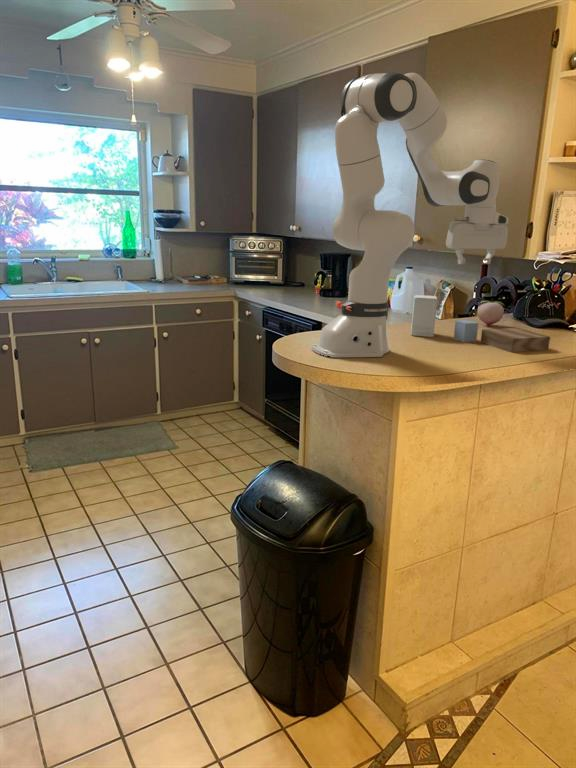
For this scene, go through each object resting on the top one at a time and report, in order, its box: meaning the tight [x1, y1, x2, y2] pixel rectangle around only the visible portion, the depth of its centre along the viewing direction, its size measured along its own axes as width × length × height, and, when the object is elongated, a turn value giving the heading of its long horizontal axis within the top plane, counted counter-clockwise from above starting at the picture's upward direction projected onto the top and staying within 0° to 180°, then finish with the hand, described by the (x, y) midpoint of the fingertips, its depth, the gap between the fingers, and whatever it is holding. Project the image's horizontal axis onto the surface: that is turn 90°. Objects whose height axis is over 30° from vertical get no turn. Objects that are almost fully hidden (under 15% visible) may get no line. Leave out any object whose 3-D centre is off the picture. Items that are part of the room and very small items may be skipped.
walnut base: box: [480, 327, 551, 353], centre depth 178 cm, size 14×14×4 cm
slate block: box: [453, 319, 479, 343], centre depth 185 cm, size 5×5×6 cm
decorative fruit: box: [477, 298, 506, 326], centre depth 209 cm, size 9×8×10 cm
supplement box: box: [410, 294, 438, 338], centre depth 190 cm, size 7×7×13 cm
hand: (473, 263), depth 178 cm, fingers open, 8 cm apart
